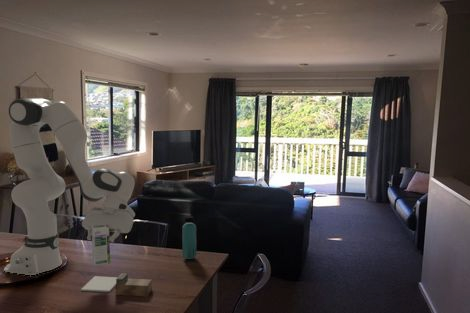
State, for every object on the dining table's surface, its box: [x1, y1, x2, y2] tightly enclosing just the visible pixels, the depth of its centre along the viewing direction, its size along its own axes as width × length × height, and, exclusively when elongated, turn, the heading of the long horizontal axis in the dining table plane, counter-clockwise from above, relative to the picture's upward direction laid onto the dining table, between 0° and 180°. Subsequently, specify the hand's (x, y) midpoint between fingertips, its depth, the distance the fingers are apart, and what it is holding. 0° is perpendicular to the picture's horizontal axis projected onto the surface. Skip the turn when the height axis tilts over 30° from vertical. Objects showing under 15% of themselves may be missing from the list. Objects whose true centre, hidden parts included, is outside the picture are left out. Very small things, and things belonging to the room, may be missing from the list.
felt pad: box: [80, 275, 118, 293], centre depth 142 cm, size 11×11×1 cm
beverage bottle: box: [181, 215, 198, 260], centre depth 166 cm, size 6×7×20 cm
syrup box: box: [91, 224, 111, 267], centre depth 140 cm, size 6×6×14 cm
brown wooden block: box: [115, 272, 153, 297], centre depth 136 cm, size 12×5×6 cm, turn 85°
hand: (99, 240), depth 139 cm, fingers closed on syrup box, 8 cm apart
